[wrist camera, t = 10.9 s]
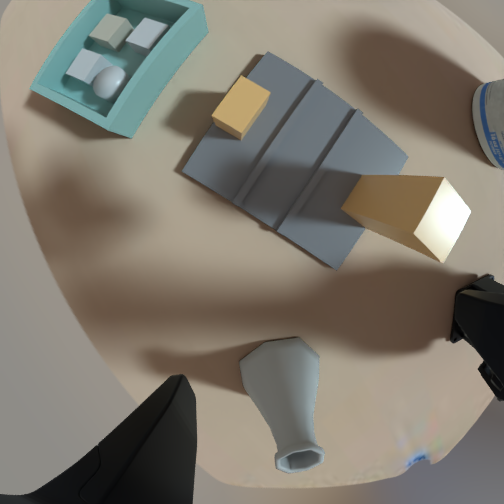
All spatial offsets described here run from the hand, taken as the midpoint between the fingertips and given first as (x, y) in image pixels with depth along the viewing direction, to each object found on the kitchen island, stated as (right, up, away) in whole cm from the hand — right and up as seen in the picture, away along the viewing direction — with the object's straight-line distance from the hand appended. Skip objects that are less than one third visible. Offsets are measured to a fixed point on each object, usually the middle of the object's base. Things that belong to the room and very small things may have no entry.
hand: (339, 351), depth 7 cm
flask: (0, -8, +16) cm, 17 cm away
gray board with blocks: (+1, +9, +11) cm, 15 cm away
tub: (-12, +17, +8) cm, 23 cm away
